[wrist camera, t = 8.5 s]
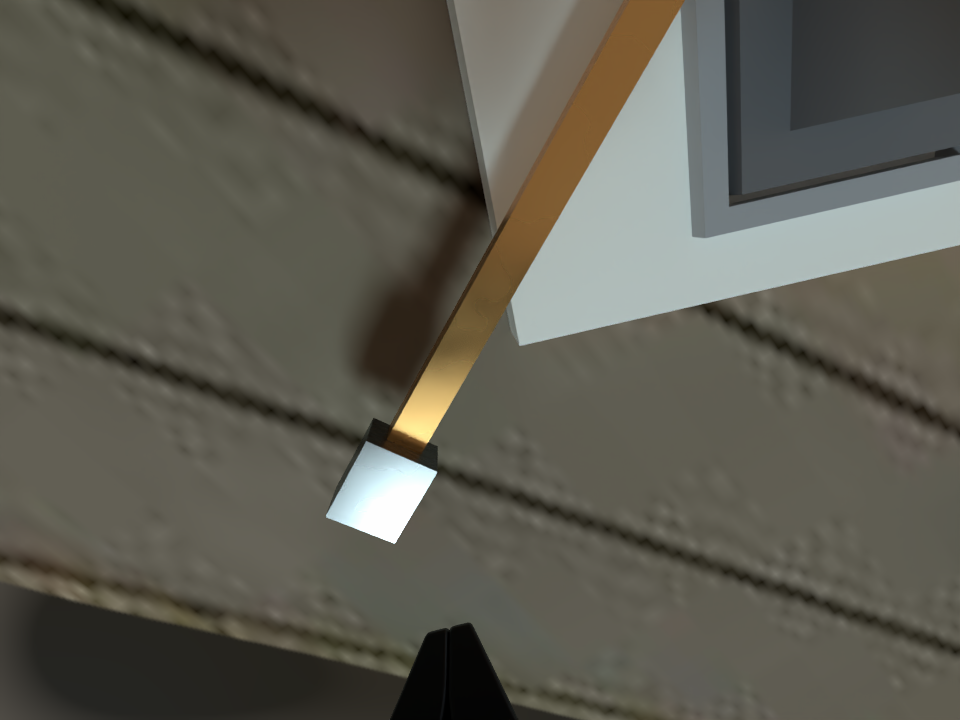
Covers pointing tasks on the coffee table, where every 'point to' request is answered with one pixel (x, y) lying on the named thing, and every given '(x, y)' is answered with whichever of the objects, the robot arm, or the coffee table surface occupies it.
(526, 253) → the golden thin rod
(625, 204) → the power strip
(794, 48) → the plug
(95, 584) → the coffee table surface
